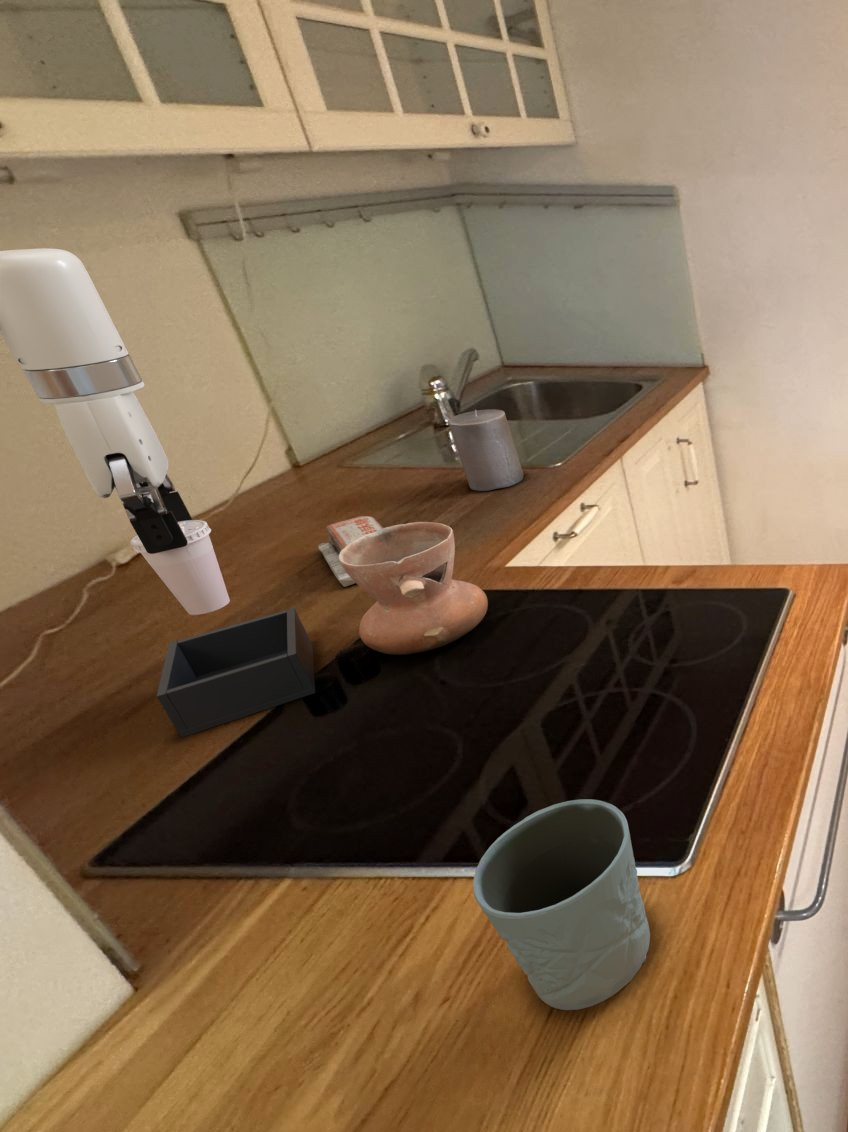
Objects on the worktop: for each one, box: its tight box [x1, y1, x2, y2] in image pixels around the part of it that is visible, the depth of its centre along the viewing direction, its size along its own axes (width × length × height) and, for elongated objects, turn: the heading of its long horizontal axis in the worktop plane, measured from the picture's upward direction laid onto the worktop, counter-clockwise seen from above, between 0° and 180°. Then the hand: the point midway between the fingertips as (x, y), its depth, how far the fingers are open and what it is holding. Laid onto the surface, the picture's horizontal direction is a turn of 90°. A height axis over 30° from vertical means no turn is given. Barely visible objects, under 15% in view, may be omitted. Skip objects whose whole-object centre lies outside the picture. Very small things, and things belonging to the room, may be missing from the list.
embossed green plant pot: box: [472, 798, 651, 1011], centre depth 58 cm, size 10×10×12 cm
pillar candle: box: [447, 408, 525, 492], centre depth 150 cm, size 10×10×15 cm
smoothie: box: [129, 494, 231, 616], centre depth 86 cm, size 6×6×14 cm
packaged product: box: [317, 515, 388, 588], centre depth 123 cm, size 18×5×10 cm
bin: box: [156, 607, 316, 738], centre depth 93 cm, size 12×14×6 cm
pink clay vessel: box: [339, 521, 489, 656], centre depth 101 cm, size 18×14×14 cm
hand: (171, 536), depth 85 cm, fingers closed on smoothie, 6 cm apart
